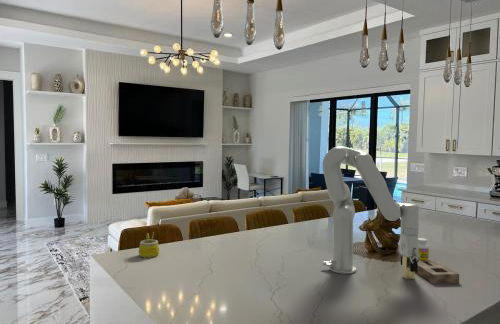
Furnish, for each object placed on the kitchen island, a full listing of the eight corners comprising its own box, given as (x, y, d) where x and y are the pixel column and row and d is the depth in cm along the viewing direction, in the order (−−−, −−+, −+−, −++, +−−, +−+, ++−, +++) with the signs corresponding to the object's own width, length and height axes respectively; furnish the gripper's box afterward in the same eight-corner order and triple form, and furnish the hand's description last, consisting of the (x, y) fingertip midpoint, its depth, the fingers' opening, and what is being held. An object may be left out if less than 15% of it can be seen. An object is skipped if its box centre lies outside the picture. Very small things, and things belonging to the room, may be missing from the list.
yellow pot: (154, 259, 200) (154, 236, 200) (135, 258, 202) (134, 235, 202) (164, 252, 213) (164, 231, 212) (146, 251, 215) (146, 230, 214)
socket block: (432, 283, 167) (432, 274, 166) (410, 268, 187) (410, 260, 186) (458, 283, 167) (459, 274, 167) (434, 268, 187) (434, 260, 187)
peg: (406, 279, 172) (406, 257, 172) (402, 276, 176) (402, 254, 176) (414, 278, 172) (415, 257, 172) (410, 275, 176) (411, 254, 176)
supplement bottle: (420, 266, 190) (420, 241, 189) (411, 262, 196) (411, 237, 196) (431, 265, 192) (432, 240, 191) (422, 261, 198) (422, 237, 198)
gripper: (393, 226, 182) (392, 262, 182) (410, 235, 164) (409, 274, 165) (408, 226, 182) (407, 262, 183) (427, 235, 165) (426, 274, 165)
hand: (408, 268), depth 174 cm, fingers open, 8 cm apart
